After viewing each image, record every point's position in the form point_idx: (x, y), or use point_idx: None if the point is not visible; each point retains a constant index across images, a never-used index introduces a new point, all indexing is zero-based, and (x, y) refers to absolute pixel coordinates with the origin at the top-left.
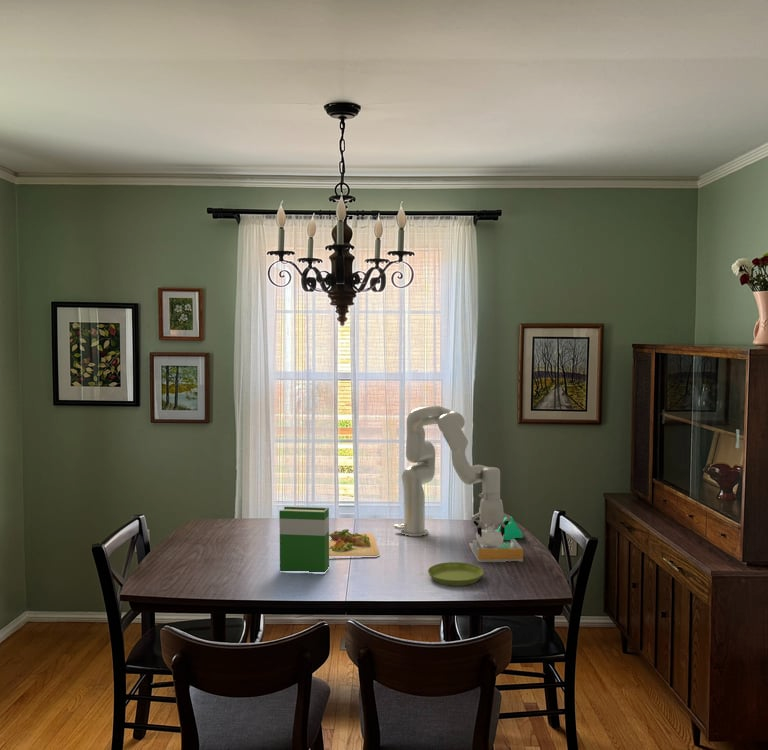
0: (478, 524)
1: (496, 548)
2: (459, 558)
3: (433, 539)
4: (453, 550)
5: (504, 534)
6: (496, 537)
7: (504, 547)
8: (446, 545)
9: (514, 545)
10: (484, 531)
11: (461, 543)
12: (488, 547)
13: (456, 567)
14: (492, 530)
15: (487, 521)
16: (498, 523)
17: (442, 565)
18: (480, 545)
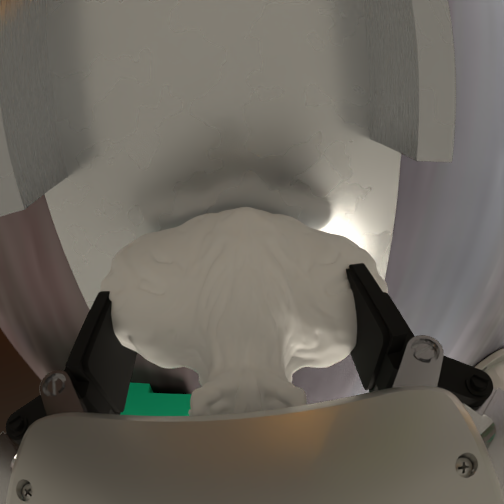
0: (437, 372)
1: (184, 163)
2: (473, 8)
3: (472, 339)
4: (482, 175)
5: (142, 407)
6: (170, 266)
7: (115, 203)
8: (476, 268)
9: (4, 34)
10: (315, 334)
11: (400, 311)
12: (258, 191)
13: None
14: (214, 347)
15: (345, 436)
16: (100, 413)
17: None
18: None
